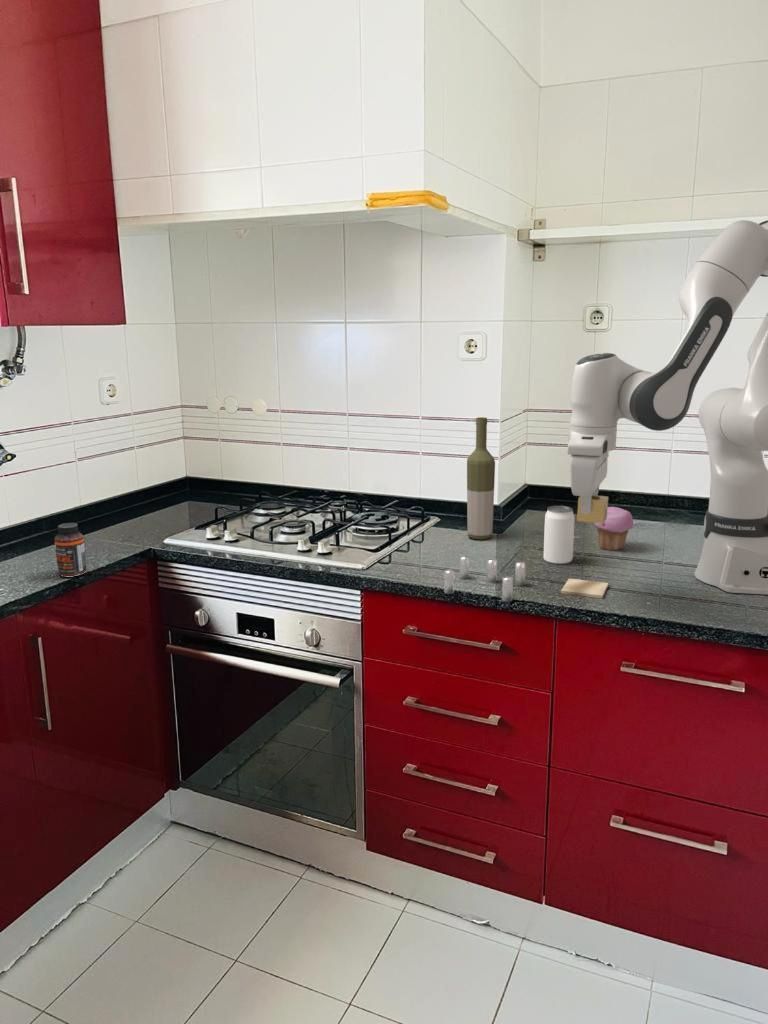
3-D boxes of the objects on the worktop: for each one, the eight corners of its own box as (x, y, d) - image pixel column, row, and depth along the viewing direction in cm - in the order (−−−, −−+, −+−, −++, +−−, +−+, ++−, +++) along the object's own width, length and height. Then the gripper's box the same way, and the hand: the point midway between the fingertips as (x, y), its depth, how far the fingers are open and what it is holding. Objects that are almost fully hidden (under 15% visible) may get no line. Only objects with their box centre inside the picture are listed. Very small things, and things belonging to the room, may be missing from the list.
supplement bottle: (53, 578, 171) (47, 528, 168) (65, 570, 176) (59, 521, 174) (80, 578, 170) (74, 528, 168) (91, 570, 176) (86, 521, 173)
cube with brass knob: (606, 518, 156) (608, 495, 155) (602, 523, 152) (604, 499, 151) (581, 516, 158) (582, 492, 157) (576, 520, 154) (578, 496, 153)
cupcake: (603, 541, 192) (605, 501, 190) (637, 547, 187) (640, 506, 185) (586, 549, 186) (588, 508, 183) (621, 555, 180) (624, 513, 178)
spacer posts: (525, 583, 163) (526, 562, 162) (510, 602, 152) (511, 580, 151) (461, 575, 169) (461, 555, 168) (442, 593, 158) (442, 572, 157)
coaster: (608, 585, 161) (608, 582, 161) (602, 598, 154) (602, 595, 154) (568, 581, 164) (568, 578, 164) (561, 593, 157) (561, 590, 157)
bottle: (469, 532, 202) (470, 415, 194) (496, 534, 199) (498, 416, 192) (462, 540, 195) (463, 419, 188) (490, 542, 193) (493, 420, 186)
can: (537, 558, 180) (539, 507, 177) (562, 554, 182) (564, 504, 179) (553, 566, 174) (555, 513, 171) (578, 562, 176) (580, 510, 173)
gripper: (585, 431, 162) (582, 496, 165) (565, 446, 144) (562, 519, 147) (616, 432, 159) (612, 499, 163) (601, 448, 141) (597, 522, 145)
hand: (588, 509), depth 155 cm, fingers closed on cube with brass knob, 5 cm apart
